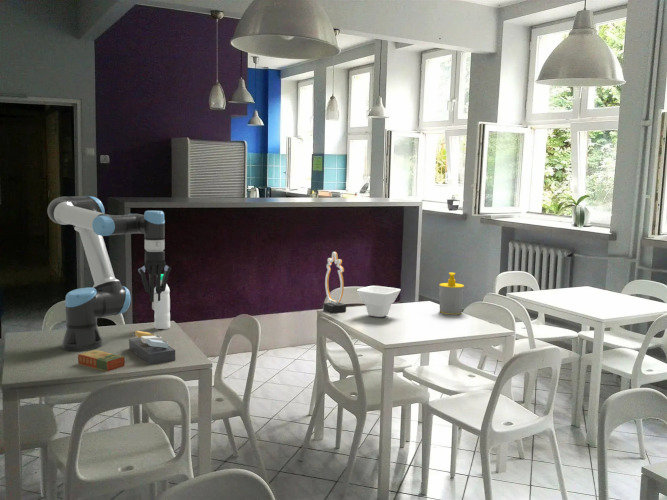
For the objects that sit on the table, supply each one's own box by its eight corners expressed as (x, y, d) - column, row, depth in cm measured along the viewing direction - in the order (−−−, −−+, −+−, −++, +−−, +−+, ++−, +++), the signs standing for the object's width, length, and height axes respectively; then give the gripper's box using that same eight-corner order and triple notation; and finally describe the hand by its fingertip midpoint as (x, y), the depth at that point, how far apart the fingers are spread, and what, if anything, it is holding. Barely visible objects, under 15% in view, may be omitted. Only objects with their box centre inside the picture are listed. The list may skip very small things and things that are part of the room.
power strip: (149, 364, 229) (149, 351, 229) (123, 344, 256) (123, 332, 255) (175, 360, 235) (175, 347, 234) (147, 340, 262) (147, 329, 261)
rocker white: (143, 343, 238) (144, 338, 238) (140, 340, 241) (141, 335, 241) (161, 342, 242) (162, 337, 242) (158, 339, 245) (158, 335, 245)
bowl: (402, 315, 319) (403, 288, 318) (385, 322, 303) (386, 294, 301) (371, 310, 329) (372, 285, 327) (352, 317, 313) (353, 290, 311)
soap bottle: (437, 313, 324) (439, 274, 322) (438, 308, 337) (440, 270, 334) (462, 315, 321) (464, 275, 319) (463, 310, 334) (464, 271, 331)
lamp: (350, 313, 322) (351, 253, 319) (335, 314, 318) (336, 253, 314) (333, 307, 336) (334, 249, 333) (319, 308, 332) (320, 250, 328)
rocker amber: (137, 337, 244) (139, 332, 244) (134, 334, 247) (135, 330, 247) (154, 339, 248) (155, 334, 248) (151, 337, 251) (152, 332, 251)
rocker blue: (150, 345, 232) (151, 340, 232) (146, 343, 235) (147, 338, 235) (167, 348, 236) (168, 343, 236) (164, 345, 239) (165, 340, 239)
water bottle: (172, 326, 287) (171, 273, 284) (167, 330, 280) (166, 276, 277) (157, 326, 288) (157, 273, 285) (152, 329, 281) (151, 275, 278)
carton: (96, 359, 235) (96, 348, 235) (125, 366, 227) (125, 355, 227) (77, 365, 228) (77, 353, 228) (106, 372, 220) (106, 361, 219)
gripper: (140, 252, 233) (141, 313, 236) (174, 250, 241) (174, 309, 244) (135, 249, 240) (135, 309, 243) (167, 248, 247) (167, 306, 250)
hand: (155, 309), depth 243 cm, fingers closed
